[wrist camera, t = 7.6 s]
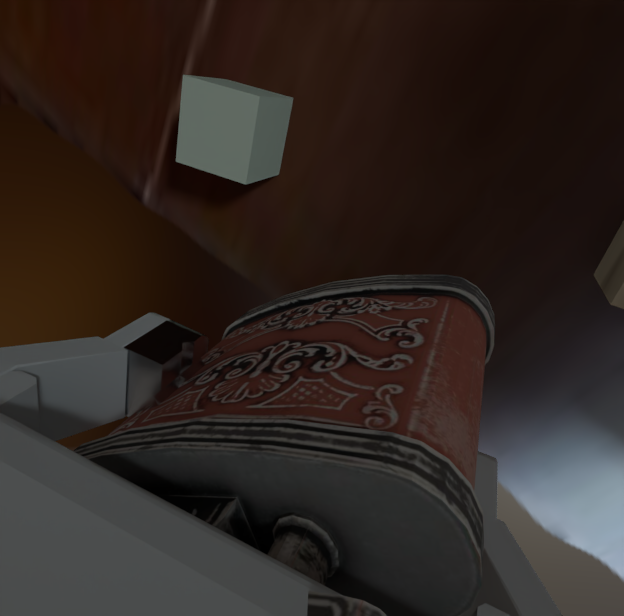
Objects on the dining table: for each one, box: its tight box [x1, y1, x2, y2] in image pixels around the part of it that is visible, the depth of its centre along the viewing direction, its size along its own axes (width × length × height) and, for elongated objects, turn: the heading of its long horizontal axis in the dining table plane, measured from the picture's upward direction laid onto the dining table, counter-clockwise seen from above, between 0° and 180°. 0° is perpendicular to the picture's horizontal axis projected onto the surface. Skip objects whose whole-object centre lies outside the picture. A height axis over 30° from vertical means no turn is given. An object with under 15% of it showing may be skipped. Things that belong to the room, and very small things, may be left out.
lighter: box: [74, 275, 495, 616], centre depth 9 cm, size 8×3×10 cm, turn 109°
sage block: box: [176, 75, 293, 185], centre depth 30 cm, size 5×5×5 cm
